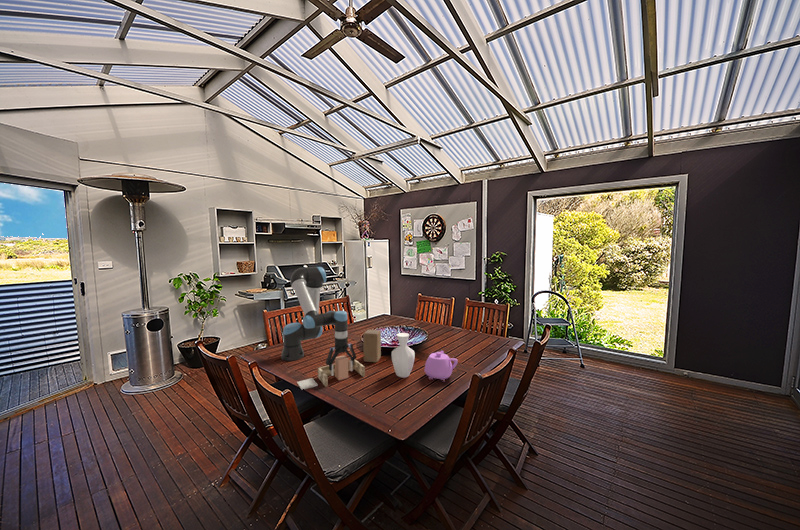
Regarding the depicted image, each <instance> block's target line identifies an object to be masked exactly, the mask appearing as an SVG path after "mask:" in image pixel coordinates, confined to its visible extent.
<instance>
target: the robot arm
mask: <svg viewBox="0 0 800 530" xmlns="http://www.w3.org/2000/svg"><path fill="white" fill-rule="evenodd" d="M289 281H290V283H289V284H290V286H291V288H292V289H293V290H294V292H295V294H296V297H297V300H298V302H299V305H300V308H301V310H302V312H303V314H304V315H303V318H302V323H300V322H291V323H288V324H286V325H285V326H283V331H282V334H283V337H282V339H283V348H282V351H281V355H280V358H281V360H282V361H286V362H293V361H298V360H300V359H303V358H304V356H305V351H304V349H303V346H302V342H303V341H307V340H309V341H310V340H312V339H317V338H320V337H321V336H322V334H323V331H324V328H323V327H326V326H330V325H331V326H332V325H333V326H334V347H331V346H330V347H329V352H328V355H327V357H326V361H325V364H326V366H328V365H329V370H330V371H331V375H330V376H333V377H334V375H333V364H334V363H335V358H336V357H338V355H339V354H342V353H343V354H344V353H346V355H347V356H348V357H349V359H348V361H349V364H350V372H353V370H352V365H354V360H355V359H356V360H357V355H356V352H355V350H354V348H353V347H354V346H353V344H352V343H351V342H350V343H348V342H349V341H348V340H349V339H348V336H349V335H348V312H347V311H345V310H337V311H334V310H329V311H327V312H324V313H319V312H320V311H319V310H320V298H321V296H320V295H321V288H323V284H326V282H327V274H326V271H325V269H324V268H323V267H322V266H309V267H299V268H296V269H295V270H294V271H293V272H292V274H291V276H290V279H289ZM348 348H349V351H350V352H349V351H348Z"/></svg>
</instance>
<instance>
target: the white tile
mask: <svg viewBox="0 0 800 530" xmlns="http://www.w3.org/2000/svg"><path fill="white" fill-rule="evenodd" d="M296 383H297V385H298V387H299V389H300V390H301V391H303V389H304V390H307V389H311V388H315V387H318V385H319V384H318V383H317V382H316V381H315V380H314V378H313V377H311V378H307V379H303V380H300V381H296Z"/></svg>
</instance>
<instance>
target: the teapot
mask: <svg viewBox="0 0 800 530" xmlns="http://www.w3.org/2000/svg"><path fill="white" fill-rule="evenodd" d="M452 361H453V363H452ZM457 365H458V359H457V358H454V357H453V358H452V357H451V358H450V356H449V355H448V354H446V353H444V350H440V351H436V352H432V353H430V354H429V356H428V358H427V360H426V361H425V364H424V373H425V374H426V376H428V379H429V378H430V379H429V380H431V379H432V380H434V379H438V380H440V381H441V380H445V379H446V380H447V379H449V378H450V376H451V375H452V373H453V370H455V368H456V366H457ZM433 378H434V379H433Z"/></svg>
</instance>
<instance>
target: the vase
mask: <svg viewBox="0 0 800 530" xmlns="http://www.w3.org/2000/svg"><path fill="white" fill-rule="evenodd" d="M396 336H397V339H398V343H399V345H398V346H397V347H395V348H394V349H393V350H392V351H391V361H392V365H393V368H394V372H395V375H396V376H397V377H399V378H408V377H409V376H410V374H411V372H412V370H413V368H414V363H415V356H416V355H415V354H416V353H415V350H413V348H410V347H409V346H408V345H407V344H408V343H409V337H410V334H409V333H406V332H399V333H397V334H396Z"/></svg>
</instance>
